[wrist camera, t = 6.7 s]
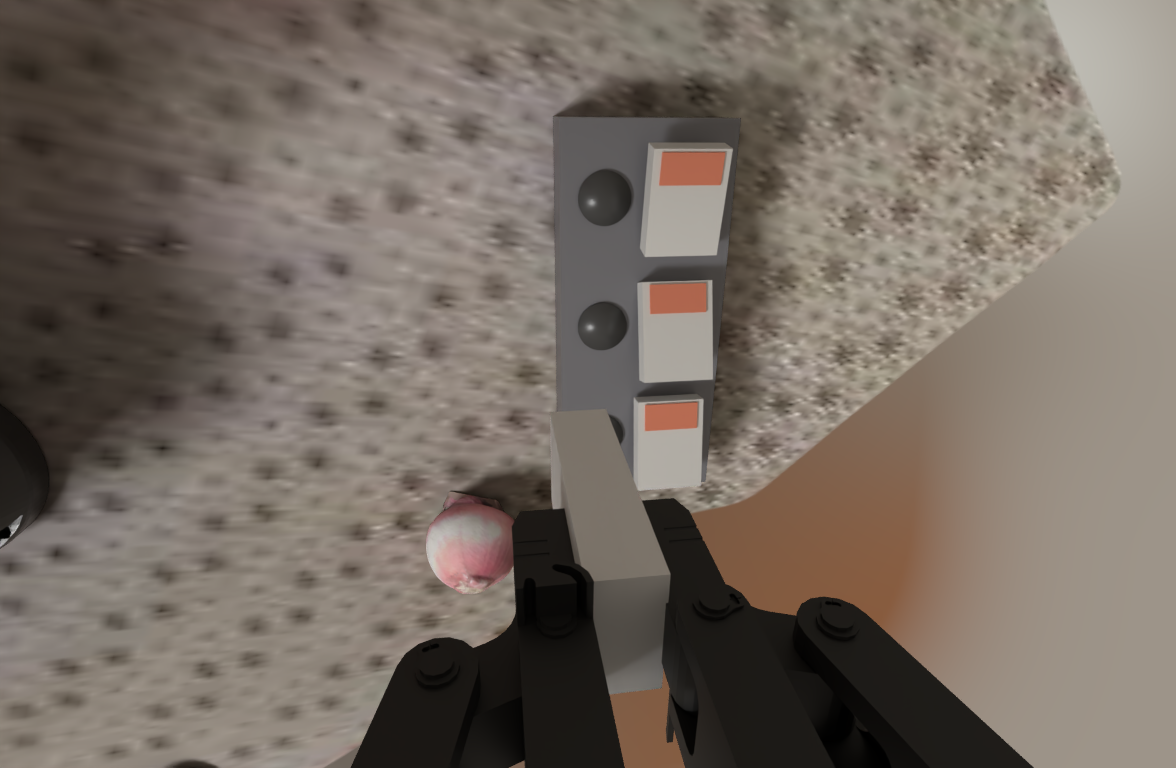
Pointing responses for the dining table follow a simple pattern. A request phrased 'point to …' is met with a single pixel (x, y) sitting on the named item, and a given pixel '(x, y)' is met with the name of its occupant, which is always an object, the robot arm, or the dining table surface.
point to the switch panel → (621, 262)
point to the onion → (470, 543)
